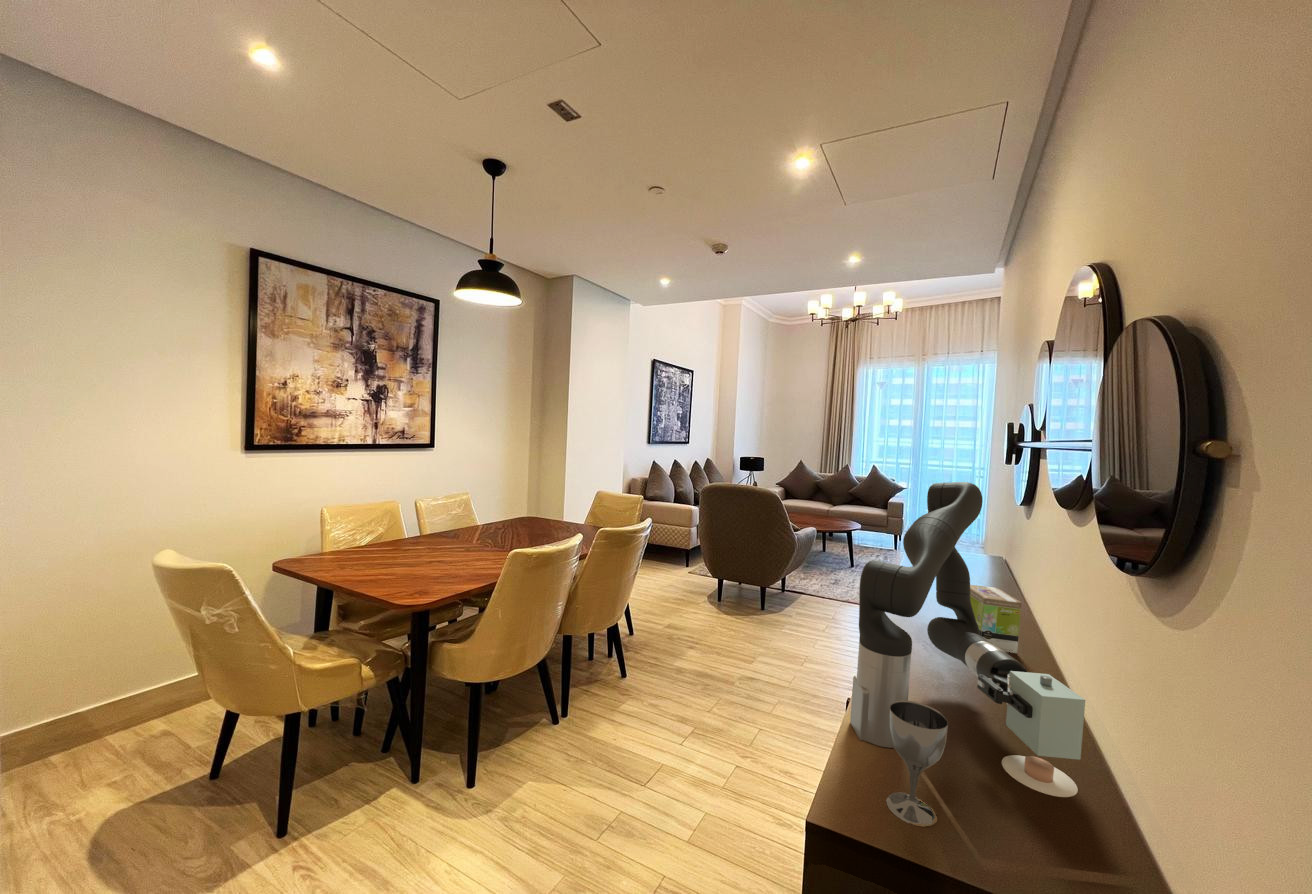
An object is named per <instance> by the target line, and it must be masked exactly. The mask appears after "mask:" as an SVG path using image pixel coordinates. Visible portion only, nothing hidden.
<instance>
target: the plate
mask: <svg viewBox="0 0 1312 894" xmlns="http://www.w3.org/2000/svg"><path fill="white" fill-rule="evenodd" d="M1025 757H1026V756H1023V755H1018V754H1017V755H1016V754H1014V755H1013V754H1012V755H1007V756H1004V757H1003V758H1002V759H1001V765H1002V768H1003V769H1004V771H1005V772H1006V773H1008V775H1009V776H1011V777H1012V778H1013V779H1015V780H1016V781H1017V782H1018V783H1021V784H1022V785H1023V786H1025V787H1028V788H1030V789H1031V790H1034V791H1037V792H1039V793H1043V794H1045V795H1049V796H1053V797H1059V798H1070V797H1074V796H1075V795H1077V793H1078V792H1079V791H1078V790H1079V789H1078V786H1077V784H1076V782H1075V781H1074V780H1073V779H1072V778H1071V777H1070V776H1068V775H1067V774H1066V773H1065V772H1063V771H1062V770H1060V769H1058V768H1056V767H1055V766H1053V767H1054V776H1053V782H1051V783H1044V782H1040V781H1038V780H1035V779H1033V778H1031V777H1030V776H1028V775H1027V774H1026V773H1025V771H1024V763H1025Z"/></svg>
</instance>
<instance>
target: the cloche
mask: <svg viewBox="0 0 1312 894" xmlns="http://www.w3.org/2000/svg"><path fill="white" fill-rule="evenodd" d="M1009 684H1010V686H1011V688H1012V689H1013V690H1014V691H1015V692H1016V695H1019V696H1021V697H1022V698H1023V699H1024V700H1025V701H1027V702H1028V703H1029V704H1030V705H1031V706H1032V708H1033V711H1032V718H1026V717H1025V716H1024V715H1023V714H1021V713H1019V712H1018V711H1017V710H1016V709H1015V708H1014V707H1011V706H1008V705H1007V704H1006V716H1005V718H1006V719H1005V726H1006V727H1007V728H1008V729H1009V730H1010V731H1011V732H1012V733H1014V734H1015V736H1016V737H1018V739H1020V740H1021V741H1022V742H1023V744H1024V745H1026V746H1027V747H1028V748H1029V749H1030V750H1031V751H1033V753H1034V754H1035V755H1037V757H1049V758H1059V759H1068V760H1069V759H1070V760H1078V761H1080V760H1081V758H1082V757H1081V756H1082V746H1083V745H1082V744H1083V734H1084V733H1083V732H1084V722H1085V721H1084V719H1085V709H1086V699H1085V698H1084V697H1082V696H1081V695H1079V694H1078V693H1077V692H1075V691H1073V690H1072V689H1070V688H1069V687H1068V686H1067V685H1065V684H1064V683H1062V682H1061V681H1059V680H1058V679H1056V678H1055V677H1053V676H1052V675H1051V674H1049V673H1040V672H1039V673H1038V672H1028V671H1027V672H1018V671H1010V677H1009Z"/></svg>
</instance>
